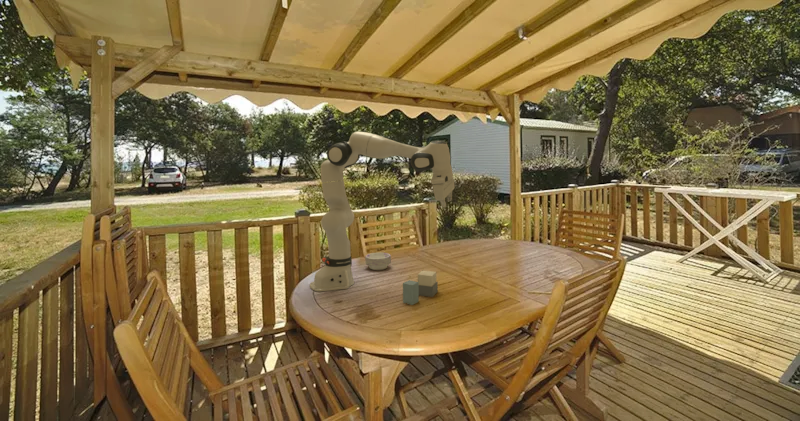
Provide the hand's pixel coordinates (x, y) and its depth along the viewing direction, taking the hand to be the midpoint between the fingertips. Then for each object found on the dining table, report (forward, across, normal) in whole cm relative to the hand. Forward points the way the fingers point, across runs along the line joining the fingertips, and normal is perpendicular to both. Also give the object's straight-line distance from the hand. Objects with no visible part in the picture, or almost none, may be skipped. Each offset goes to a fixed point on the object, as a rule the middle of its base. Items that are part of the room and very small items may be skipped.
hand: (447, 203), depth 172 cm
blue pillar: (+36, +30, -13) cm, 49 cm away
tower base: (+39, +17, -11) cm, 44 cm away
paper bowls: (+42, -11, -52) cm, 68 cm away
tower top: (+34, +16, -10) cm, 39 cm away
